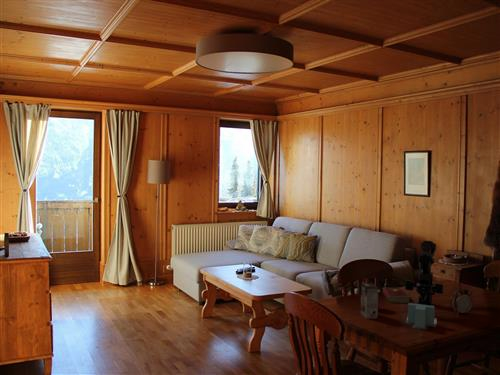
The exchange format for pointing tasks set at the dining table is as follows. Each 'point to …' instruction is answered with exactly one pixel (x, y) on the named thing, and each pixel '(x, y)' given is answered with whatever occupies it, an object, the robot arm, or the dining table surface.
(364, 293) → the coffee box
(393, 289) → the hardcover book
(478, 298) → the dining table surface
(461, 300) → the alarm clock
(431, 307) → the T block
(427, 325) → the mat
